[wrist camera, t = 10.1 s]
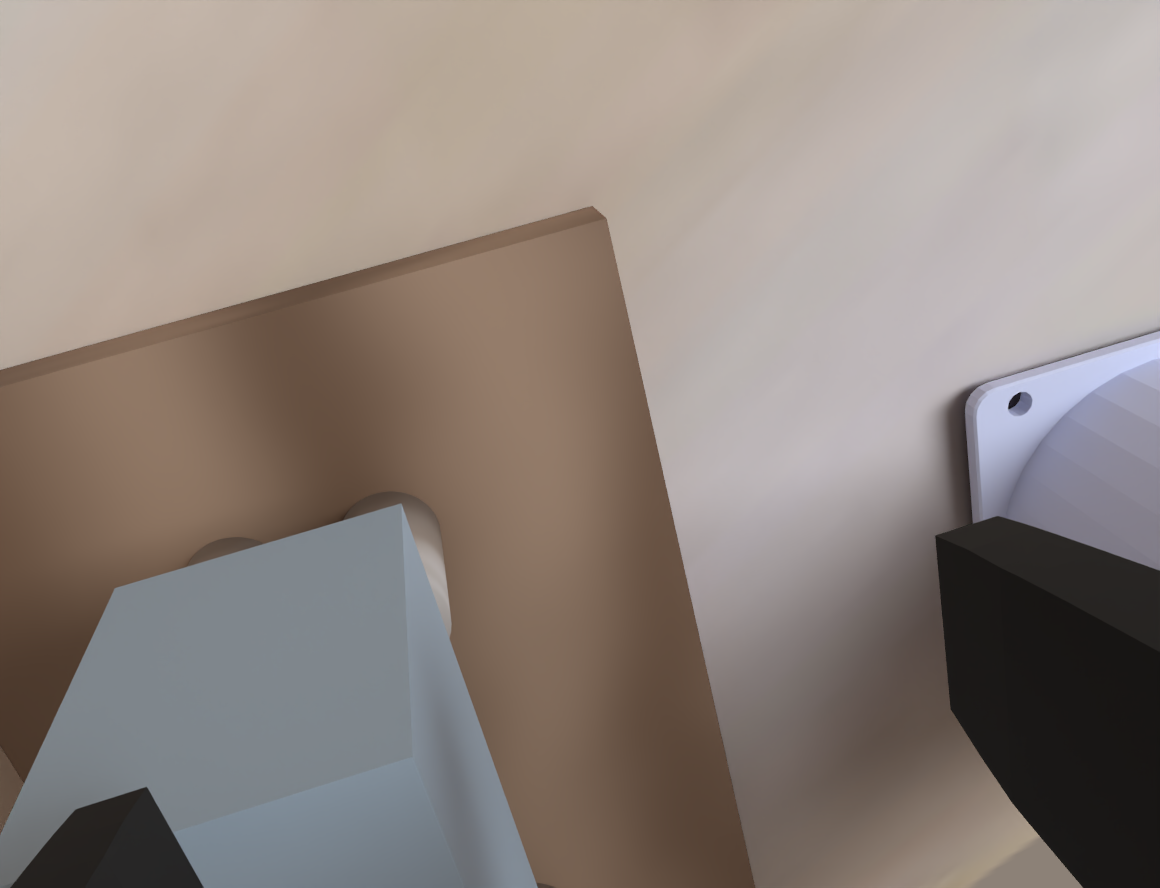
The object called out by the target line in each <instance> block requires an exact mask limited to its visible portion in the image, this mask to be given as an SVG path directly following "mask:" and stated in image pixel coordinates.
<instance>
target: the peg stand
mask: <svg viewBox="0 0 1160 888" xmlns="http://www.w3.org/2000/svg"><path fill="white" fill-rule="evenodd" d="M397 504H402V507H403V510H404V513H405V515H406V518H407V521H408V524H409V527H410V529H411V532H412V535H413V538H414V541H415V543H416V546H417V549H418V552H419V555H420V558H421V560H422V563H423V566H424V569H425V572H426V574H427V577H428V580H429V583H430V586H431V588H432V591H433V594H434V597H435V600H436V603H437V605H438V608H439V611H440V614H441V617H442V619H443V622H444V625H445V628H446V631H447V633H448V636H449V639H450V642H451V645H452V648H453V650H454V653H455V656H456V659H457V662H458V664H459V667H460V670H461V673H462V676H463V678H464V681H465V684H466V687H467V690H468V693H469V695H470V698H471V701H472V704H473V707H474V709H475V712H476V715H477V718H478V721H479V723H480V726H481V729H482V732H483V735H484V738H485V740H486V743H487V746H488V749H489V752H490V754H491V757H492V760H493V763H494V766H495V769H496V771H497V774H498V777H499V780H500V783H501V785H502V788H503V791H504V794H505V797H506V799H507V802H508V805H509V808H510V811H511V814H512V816H513V819H514V822H515V825H516V828H517V830H518V833H519V836H520V839H521V842H522V844H523V847H524V850H525V853H526V856H527V859H528V861H529V864H530V867H531V870H532V873H533V875H534V878H535V881H536V884H537V887H538V888H755V885H754V881H753V876H752V872H751V867H750V863H749V858H748V854H747V849H746V845H745V840H744V836H743V831H742V827H741V822H740V818H739V813H738V809H737V804H736V800H735V795H734V791H733V786H732V782H731V777H730V773H729V768H728V764H727V759H726V755H725V750H724V746H723V741H722V737H721V732H720V728H719V723H718V719H717V714H716V710H715V705H714V701H713V696H712V692H711V687H710V683H709V678H708V674H707V669H706V665H705V660H704V656H703V651H702V647H701V642H700V638H699V633H698V629H697V624H696V620H695V615H694V611H693V606H692V602H691V597H690V593H689V588H688V584H687V579H686V575H685V570H684V566H683V561H682V557H681V552H680V548H679V543H678V539H677V534H676V530H675V525H674V521H673V516H672V512H671V507H670V503H669V498H668V494H667V489H666V485H665V480H664V476H663V471H662V467H661V462H660V458H659V453H658V449H657V444H656V440H655V435H654V431H653V426H652V422H651V417H650V413H649V408H648V404H647V399H646V394H645V390H644V385H643V381H642V376H641V372H640V367H639V363H638V358H637V354H636V349H635V345H634V340H633V336H632V331H631V327H630V322H629V318H628V313H627V309H626V304H625V300H624V295H623V291H622V286H621V282H620V277H619V273H618V268H617V264H616V259H615V255H614V250H613V246H612V241H611V237H610V232H609V228H608V223H607V219H606V218H605V217H604V216H603V215H602V214H601V213H600V212H598V211H597V210H596V209H595V208H594V207H593V206H591V207H587V208H584V209H580V210H577V211H573V212H569V213H566V214H562V215H559V216H555V217H551V218H548V219H544V220H541V221H537V222H533V223H530V224H526V225H523V226H519V227H515V228H512V229H508V230H504V231H501V232H497V233H494V234H490V235H486V236H483V237H479V238H476V239H472V240H468V241H465V242H461V243H458V244H454V245H450V246H447V247H443V248H440V249H436V250H432V251H429V252H425V253H422V254H418V255H414V256H411V257H407V258H403V259H400V260H396V261H393V262H389V263H385V264H382V265H378V266H375V267H371V268H367V269H364V270H360V271H357V272H353V273H349V274H346V275H342V276H339V277H335V278H331V279H328V280H324V281H320V282H317V283H313V284H310V285H306V286H302V287H299V288H295V289H292V290H288V291H284V292H281V293H277V294H274V295H270V296H266V297H263V298H259V299H256V300H252V301H248V302H245V303H241V304H238V305H234V306H230V307H227V308H223V309H219V310H216V311H212V312H209V313H205V314H201V315H198V316H194V317H191V318H187V319H183V320H180V321H176V322H173V323H169V324H165V325H162V326H158V327H155V328H151V329H147V330H144V331H140V332H136V333H133V334H129V335H126V336H122V337H118V338H115V339H111V340H108V341H104V342H100V343H97V344H93V345H90V346H86V347H82V348H79V349H75V350H72V351H68V352H64V353H61V354H57V355H53V356H50V357H46V358H43V359H39V360H35V361H32V362H28V363H25V364H21V365H17V366H14V367H10V368H7V369H3V370H0V746H1V747H2V749H3V750H4V752H5V753H6V755H7V757H8V758H9V760H10V761H11V763H12V765H13V766H14V768H15V769H16V771H17V773H18V774H19V776H20V777H21V779H22V781H23V782H24V783H25V781H26V778H27V776H28V774H29V772H30V770H31V768H32V766H33V763H34V761H35V759H36V757H37V755H38V753H39V750H40V748H41V746H42V744H43V742H44V740H45V738H46V735H47V733H48V731H49V729H50V727H51V725H52V723H53V720H54V718H55V716H56V714H57V712H58V710H59V707H60V705H61V703H62V701H63V699H64V697H65V695H66V692H67V690H68V688H69V686H70V684H71V682H72V679H73V677H74V675H75V673H76V671H77V669H78V667H79V664H80V662H81V660H82V658H83V656H84V654H85V652H86V649H87V647H88V645H89V643H90V641H91V639H92V636H93V634H94V632H95V630H96V628H97V626H98V624H99V621H100V619H101V617H102V615H103V613H104V611H105V609H106V606H107V604H108V602H109V600H110V598H111V596H112V593H113V591H114V589H115V588H117V587H121V586H124V585H127V584H131V583H134V582H137V581H141V580H144V579H148V578H151V577H154V576H158V575H161V574H164V573H168V572H171V571H175V570H178V569H181V568H185V567H188V566H191V565H195V564H198V563H202V562H205V561H208V560H212V559H215V558H218V557H222V556H225V555H229V554H232V553H235V552H239V551H242V550H245V549H249V548H252V547H256V546H259V545H262V544H266V543H269V542H272V541H276V540H279V539H283V538H286V537H289V536H293V535H296V534H299V533H303V532H306V531H310V530H313V529H316V528H320V527H323V526H326V525H330V524H333V523H337V522H340V521H343V520H347V519H350V518H353V517H357V516H360V515H364V514H367V513H370V512H374V511H377V510H380V509H384V508H387V507H391V506H394V505H397Z"/></svg>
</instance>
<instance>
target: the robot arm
mask: <svg viewBox="0 0 1160 888" xmlns="http://www.w3.org/2000/svg"><path fill="white" fill-rule="evenodd" d="M1019 392H1021V396H1020V400H1019V402H1018V403H1017V404H1016V406H1014V407H1012V408H1011V409H1008V405H1009V401H1010V400H1011V398H1012V397H1013V396H1014V395H1016V394H1017V393H1019ZM965 420H966V434H967V448H968V462H969V475H970V489H971V503H972V516H973V524H970V525H967V526H964V527H961V528H958V529H955V530H951V531H948V532H945V533H942V534H939V535H936V536H935V538H936V549H937V560H938V571H939V583H940V594H941V605H942V616H943V628H944V639H945V650H946V662H947V673H948V684H949V695H950V707H951V710H952V712H953V713H954V715H955V717H956V718H957V720H958V721H959V723H960V724H961V726H962V728H963V729H964V731H965V732H966V734H967V735H968V737H969V738H970V740H971V742H972V743H973V745H974V746H975V748H976V749H977V751H978V753H979V754H980V756H981V757H982V759H983V760H984V762H985V763H986V765H987V766H988V768H989V769H990V771H991V772H992V774H993V775H994V777H995V778H996V779H997V781H998V782H999V784H1000V785H1001V787H1002V788H1003V790H1004V791H1005V793H1006V794H1007V796H1008V797H1009V799H1010V800H1011V802H1012V803H1013V804H1014V806H1015V807H1016V808H1017V809H1018V810H1019V812H1020V813H1021V814H1022V815H1023V816H1024V818H1025V819H1026V820H1027V821H1028V823H1029V824H1030V825H1031V826H1032V827H1033V829H1034V830H1035V831H1036V832H1037V833H1038V835H1039V836H1040V837H1041V838H1042V839H1043V840H1044V842H1045V843H1046V844H1047V845H1048V846H1049V848H1050V849H1051V850H1052V851H1053V852H1054V853H1055V855H1056V856H1057V857H1058V858H1059V859H1060V861H1061V862H1062V863H1063V864H1064V865H1065V867H1066V868H1067V869H1068V870H1069V871H1070V873H1071V874H1072V875H1073V876H1074V877H1075V878H1076V880H1077V881H1078V882H1079V883H1080V884H1081V886H1082V887H1083V888H1160V331H1158V332H1155V333H1151V334H1148V335H1145V336H1141V337H1138V338H1135V339H1131V340H1128V341H1125V342H1121V343H1118V344H1115V345H1111V346H1108V347H1104V348H1101V349H1098V350H1094V351H1091V352H1088V353H1084V354H1081V355H1078V356H1074V357H1071V358H1068V359H1064V360H1061V361H1058V362H1054V363H1051V364H1048V365H1044V366H1041V367H1038V368H1034V369H1031V370H1028V371H1024V372H1021V373H1018V374H1014V375H1011V376H1008V377H1004V378H1001V379H998V380H994V381H991V382H988V383H985V384H983V385H981V386H979V387H977V388H976V389H975V390H974V391H973V392H972V393H971V394H970V396H969V398H968V400H967V402H966V407H965ZM10 888H204V887H203V885H202V883H201V882H200V880H199V878H198V876H197V875H196V873H195V871H194V869H193V867H192V866H191V864H190V862H189V860H188V859H187V857H186V855H185V853H184V852H183V850H182V848H181V846H180V844H179V843H178V841H177V839H176V837H175V836H174V834H173V832H172V830H171V828H170V827H169V825H168V823H167V821H166V820H165V818H164V816H163V814H162V812H161V811H160V809H159V807H158V805H157V804H156V802H155V800H154V798H153V797H152V795H151V793H150V791H149V789H148V788H147V787H144V788H141V789H138V790H135V791H132V792H128V793H125V794H122V795H119V796H116V797H113V798H110V799H106V800H103V801H100V802H97V803H94V804H91V805H88V806H84V807H81V808H78V809H75V810H74V812H73V813H72V814H71V815H70V816H69V817H68V818H67V819H66V821H65V822H64V823H63V824H62V825H61V826H60V827H59V828H58V830H57V831H56V832H55V833H54V834H53V835H52V837H51V838H50V839H49V840H48V841H47V843H46V844H45V845H44V846H43V847H42V849H41V850H40V851H39V852H38V854H37V855H36V856H35V857H34V859H33V860H32V861H31V862H30V863H29V865H28V866H27V867H26V868H25V870H24V871H23V872H22V873H21V875H20V876H19V877H18V878H17V880H16V881H15V882H14V884H13V885H12V886H11V887H10Z"/></svg>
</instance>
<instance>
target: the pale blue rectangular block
mask: <svg viewBox="0 0 1160 888" xmlns="http://www.w3.org/2000/svg"><path fill="white" fill-rule="evenodd" d="M144 787H147V788H148V789H149V791H150V793H151V795H152V797H153V798H154V800H155V802H156V804H157V805H158V807H159V809H160V811H161V812H162V814H163V816H164V818H165V820H166V821H167V823H168V825H169V827H170V828H171V830H172V832H173V834H174V836H175V837H176V839H177V841H178V843H179V844H180V846H181V848H182V850H183V852H184V853H185V855H186V857H187V859H188V860H189V862H190V864H191V866H192V867H193V869H194V871H195V873H196V875H197V876H198V878H199V880H200V882H201V883H202V885H203V887H204V888H538V887H537V884H536V881H535V878H534V875H533V873H532V870H531V867H530V864H529V861H528V859H527V856H526V853H525V850H524V847H523V844H522V842H521V839H520V836H519V833H518V830H517V828H516V825H515V822H514V819H513V816H512V814H511V811H510V808H509V805H508V802H507V799H506V797H505V794H504V791H503V788H502V785H501V783H500V780H499V777H498V774H497V771H496V769H495V766H494V763H493V760H492V757H491V754H490V752H489V749H488V746H487V743H486V740H485V738H484V735H483V732H482V729H481V726H480V723H479V721H478V718H477V715H476V712H475V709H474V707H473V704H472V701H471V698H470V695H469V693H468V690H467V687H466V684H465V681H464V678H463V676H462V673H461V670H460V667H459V664H458V662H457V659H456V656H455V653H454V650H453V648H452V645H451V642H450V639H449V636H448V633H447V631H446V628H445V625H444V622H443V619H442V617H441V614H440V611H439V608H438V605H437V603H436V600H435V597H434V594H433V591H432V588H431V586H430V583H429V580H428V577H427V574H426V572H425V569H424V566H423V563H422V560H421V558H420V555H419V552H418V549H417V546H416V543H415V541H414V538H413V535H412V532H411V529H410V527H409V524H408V521H407V518H406V515H405V513H404V510H403V507H402V504H397V505H394V506H391V507H387V508H384V509H380V510H377V511H374V512H370V513H367V514H364V515H360V516H357V517H353V518H350V519H347V520H343V521H340V522H337V523H333V524H330V525H326V526H323V527H320V528H316V529H313V530H310V531H306V532H303V533H299V534H296V535H293V536H289V537H286V538H283V539H279V540H276V541H272V542H269V543H266V544H262V545H259V546H256V547H252V548H249V549H245V550H242V551H239V552H235V553H232V554H229V555H225V556H222V557H218V558H215V559H212V560H208V561H205V562H202V563H198V564H195V565H191V566H188V567H185V568H181V569H178V570H175V571H171V572H168V573H164V574H161V575H158V576H154V577H151V578H148V579H144V580H141V581H137V582H134V583H131V584H127V585H124V586H121V587H117V588H115V589H114V591H113V593H112V596H111V598H110V600H109V602H108V604H107V606H106V609H105V611H104V613H103V615H102V617H101V619H100V621H99V624H98V626H97V628H96V630H95V632H94V634H93V636H92V639H91V641H90V643H89V645H88V647H87V649H86V652H85V654H84V656H83V658H82V660H81V662H80V664H79V667H78V669H77V671H76V673H75V675H74V677H73V679H72V682H71V684H70V686H69V688H68V690H67V692H66V695H65V697H64V699H63V701H62V703H61V705H60V707H59V710H58V712H57V714H56V716H55V718H54V720H53V723H52V725H51V727H50V729H49V731H48V733H47V735H46V738H45V740H44V742H43V744H42V746H41V748H40V750H39V753H38V755H37V757H36V759H35V761H34V763H33V766H32V768H31V770H30V772H29V774H28V776H27V778H26V781H25V783H24V785H23V787H22V789H21V791H20V793H19V796H18V798H17V800H16V802H15V804H14V806H13V809H12V811H11V813H10V815H9V817H8V819H7V821H6V824H5V826H4V828H3V830H2V832H1V834H0V888H10V887H11V886H12V885H13V884H14V882H15V881H16V880H17V878H18V877H19V876H20V875H21V873H22V872H23V871H24V870H25V868H26V867H27V866H28V865H29V863H30V862H31V861H32V860H33V859H34V857H35V856H36V855H37V854H38V852H39V851H40V850H41V849H42V847H43V846H44V845H45V844H46V843H47V841H48V840H49V839H50V838H51V837H52V835H53V834H54V833H55V832H56V831H57V830H58V828H59V827H60V826H61V825H62V824H63V823H64V822H65V821H66V819H67V818H68V817H69V816H70V815H71V814H72V813H73V812H74V810H75V809H78V808H81V807H84V806H88V805H91V804H94V803H97V802H100V801H103V800H106V799H110V798H113V797H116V796H119V795H122V794H125V793H128V792H132V791H135V790H138V789H141V788H144Z"/></svg>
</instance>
